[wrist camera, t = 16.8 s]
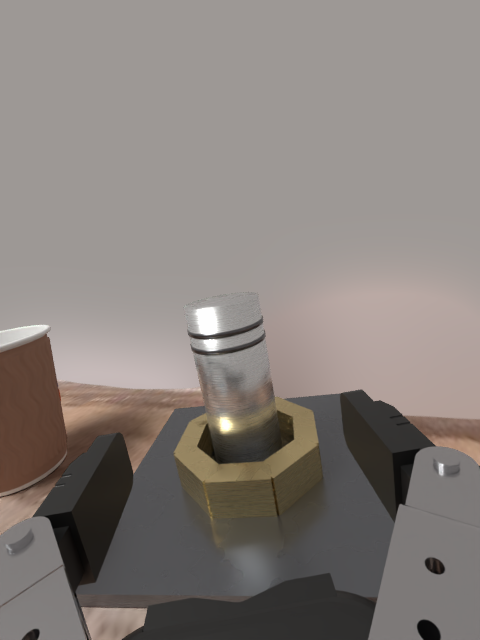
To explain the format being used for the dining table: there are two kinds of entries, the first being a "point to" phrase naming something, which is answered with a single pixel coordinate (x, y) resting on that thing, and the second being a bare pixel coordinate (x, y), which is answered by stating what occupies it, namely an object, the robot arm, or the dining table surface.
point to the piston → (234, 376)
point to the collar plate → (245, 516)
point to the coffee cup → (28, 409)
